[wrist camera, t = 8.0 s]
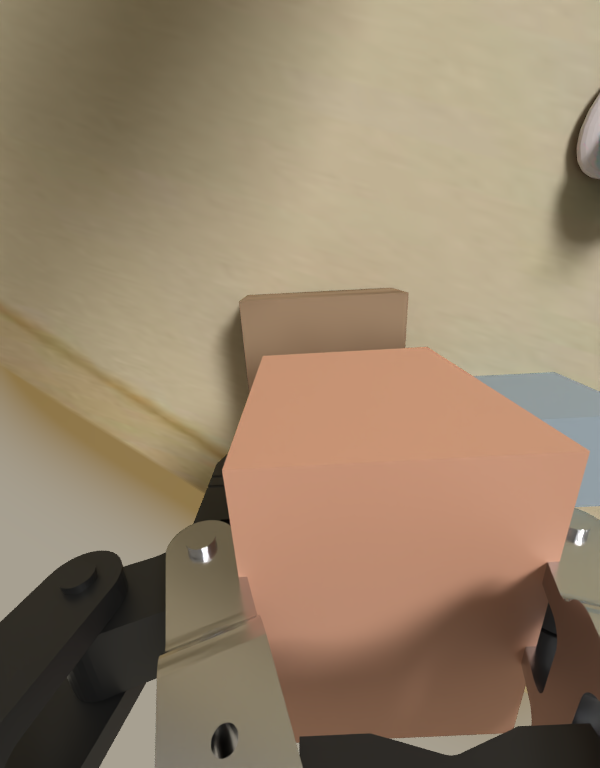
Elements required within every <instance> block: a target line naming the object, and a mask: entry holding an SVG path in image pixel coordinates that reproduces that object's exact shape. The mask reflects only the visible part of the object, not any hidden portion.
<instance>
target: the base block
mask: <svg viewBox="0 0 600 768" xmlns="http://www.w3.org/2000/svg"><path fill="white" fill-rule="evenodd" d="M239 306H240V315H241V324H242V333H243V342H244V351H245V361H246V370H247V379H248V388H249V393H250V391H251V388H252V385H253V382H254V379H255V377H256V374H257V371H258V368H259V365H260V363H261V360H262V357H263V356H269V355H288V354H306V353H325V352H343V351H362V350H380V349H399V348H405V341H406V324H407V308H408V293H407V292H404V291H400V290H397V289H394V288H379V289H360V290H340V291H321V292H302V293H282V294H263V295H247V296H246V297H245V298H243V299H242V300H240V301H239Z"/></svg>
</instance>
